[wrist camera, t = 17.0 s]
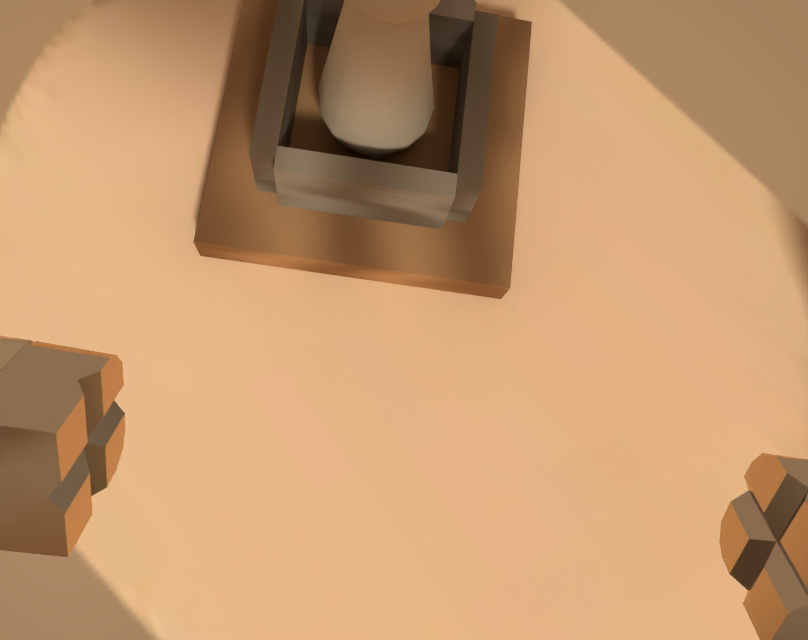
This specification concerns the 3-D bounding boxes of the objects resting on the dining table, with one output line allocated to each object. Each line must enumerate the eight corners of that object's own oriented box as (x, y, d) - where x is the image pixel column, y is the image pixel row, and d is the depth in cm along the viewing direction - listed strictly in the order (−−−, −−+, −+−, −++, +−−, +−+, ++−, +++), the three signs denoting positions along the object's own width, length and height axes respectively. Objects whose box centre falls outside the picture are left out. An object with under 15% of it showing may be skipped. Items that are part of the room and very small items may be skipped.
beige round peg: (315, 77, 38) (309, -131, 26) (420, 73, 39) (464, -131, 27) (323, 177, 37) (321, 8, 25) (432, 171, 38) (484, 4, 25)
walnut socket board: (522, 43, 43) (552, -30, 37) (500, 298, 38) (531, 261, 33) (253, -2, 42) (241, -85, 36) (200, 255, 37) (177, 209, 32)
